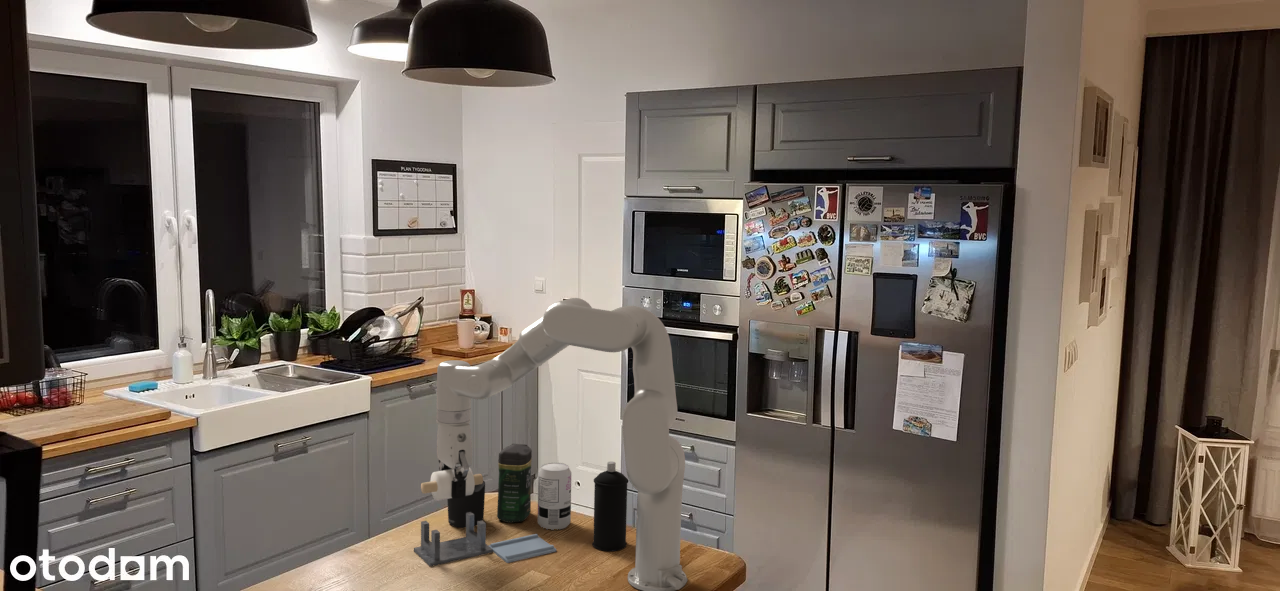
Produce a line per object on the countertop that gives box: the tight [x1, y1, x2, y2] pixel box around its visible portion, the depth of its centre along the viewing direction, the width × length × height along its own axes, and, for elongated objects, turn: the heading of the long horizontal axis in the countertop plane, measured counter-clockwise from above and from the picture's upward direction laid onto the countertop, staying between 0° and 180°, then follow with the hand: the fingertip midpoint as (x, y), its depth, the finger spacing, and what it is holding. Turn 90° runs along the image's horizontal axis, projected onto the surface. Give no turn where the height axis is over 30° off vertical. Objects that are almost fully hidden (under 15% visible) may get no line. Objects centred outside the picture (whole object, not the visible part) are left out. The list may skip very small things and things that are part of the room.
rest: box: [487, 533, 557, 564], centre depth 200 cm, size 13×10×1 cm
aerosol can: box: [592, 461, 629, 552], centre depth 203 cm, size 8×8×20 cm
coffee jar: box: [496, 443, 533, 523], centre depth 220 cm, size 10×8×19 cm
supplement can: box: [537, 462, 572, 531], centre depth 215 cm, size 8×8×15 cm
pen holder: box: [446, 480, 486, 529], centre depth 216 cm, size 9×9×10 cm
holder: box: [413, 512, 494, 567], centre depth 197 cm, size 15×10×7 cm, turn 125°
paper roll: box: [420, 467, 484, 502], centre depth 196 cm, size 14×6×6 cm, turn 125°
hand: (452, 491), depth 196 cm, fingers closed on paper roll, 6 cm apart
